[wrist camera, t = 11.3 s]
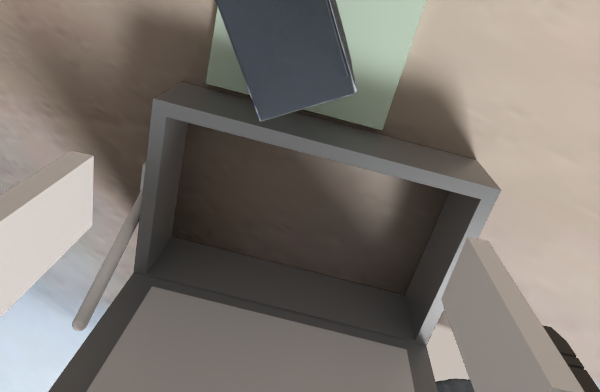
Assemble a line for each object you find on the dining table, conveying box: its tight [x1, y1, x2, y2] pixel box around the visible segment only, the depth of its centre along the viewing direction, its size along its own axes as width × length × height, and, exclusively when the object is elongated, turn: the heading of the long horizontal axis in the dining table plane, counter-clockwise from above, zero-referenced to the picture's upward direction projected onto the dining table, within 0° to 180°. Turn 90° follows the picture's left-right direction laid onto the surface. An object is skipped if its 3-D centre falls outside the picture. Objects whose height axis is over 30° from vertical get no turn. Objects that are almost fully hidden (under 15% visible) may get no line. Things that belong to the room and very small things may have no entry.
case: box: [49, 82, 501, 392], centre depth 30 cm, size 26×16×20 cm, turn 76°
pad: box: [206, 0, 426, 130], centre depth 33 cm, size 14×12×1 cm
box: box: [215, 0, 357, 121], centre depth 28 cm, size 8×6×11 cm
